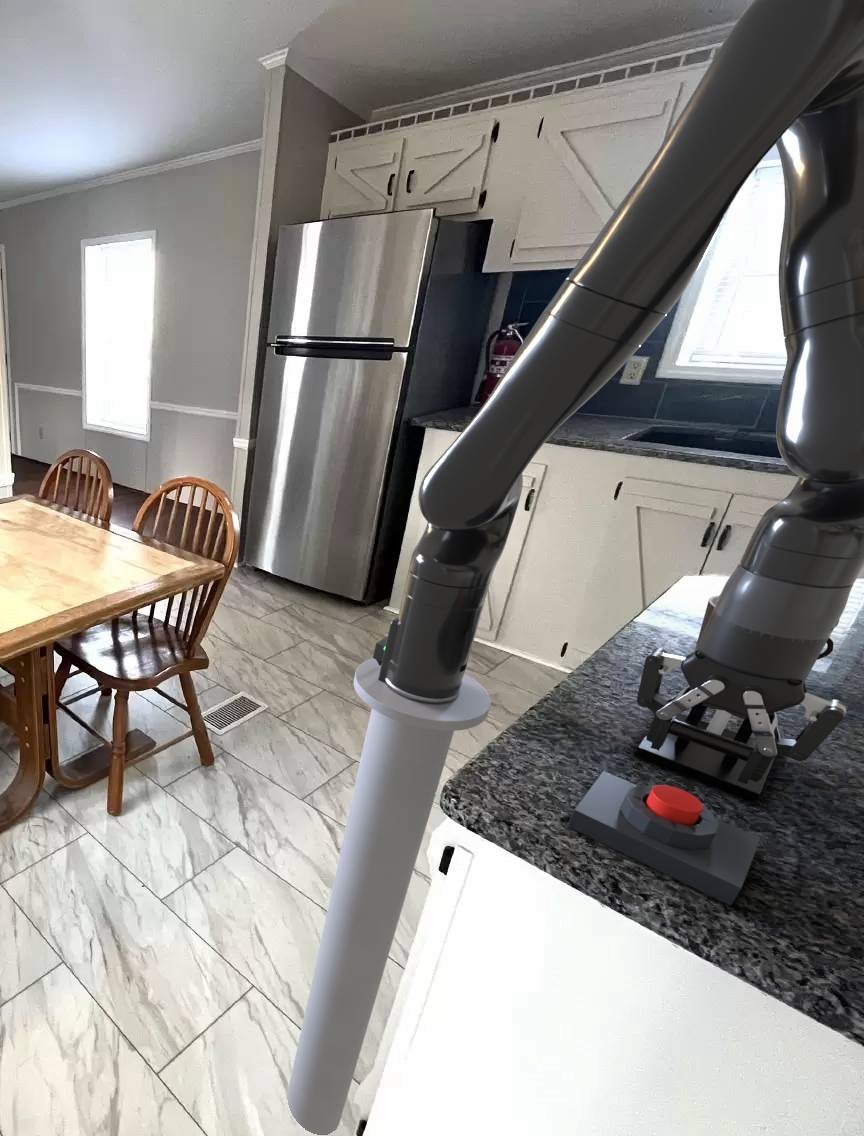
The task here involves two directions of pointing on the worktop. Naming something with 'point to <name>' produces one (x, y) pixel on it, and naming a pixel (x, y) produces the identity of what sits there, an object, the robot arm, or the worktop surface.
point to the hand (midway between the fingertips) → (698, 761)
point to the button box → (666, 838)
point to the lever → (712, 736)
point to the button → (674, 804)
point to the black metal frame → (706, 757)
